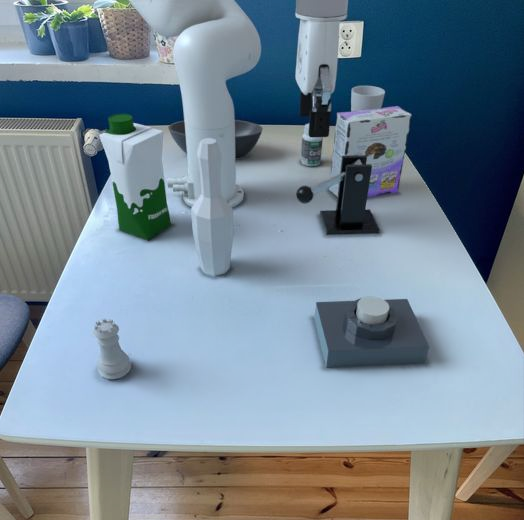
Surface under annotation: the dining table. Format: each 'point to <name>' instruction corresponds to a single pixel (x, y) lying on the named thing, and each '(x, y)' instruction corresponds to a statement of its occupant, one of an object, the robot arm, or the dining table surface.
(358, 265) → the dining table surface
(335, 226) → the lever bracket
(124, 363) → the rook chess piece
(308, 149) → the pill bottle
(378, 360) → the block
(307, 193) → the ball knob lever
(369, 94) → the cup
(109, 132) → the milk carton
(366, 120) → the candy box
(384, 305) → the white push button
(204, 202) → the low poly bottle
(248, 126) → the bowl
